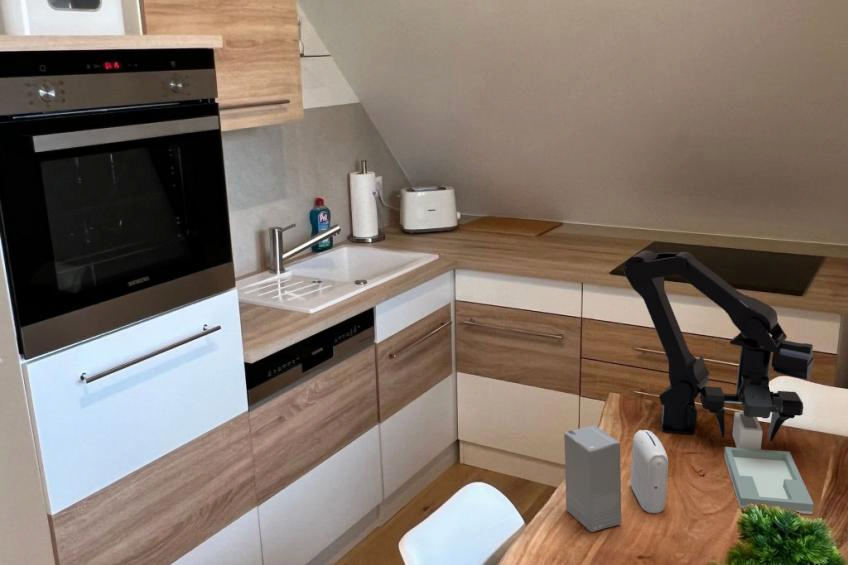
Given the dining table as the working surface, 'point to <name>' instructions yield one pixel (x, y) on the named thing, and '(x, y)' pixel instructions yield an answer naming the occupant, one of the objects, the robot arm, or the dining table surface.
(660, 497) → the photo printer
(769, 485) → the keyhole tray
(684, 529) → the dining table surface
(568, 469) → the skincare box
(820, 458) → the dining table surface
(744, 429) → the socket block
